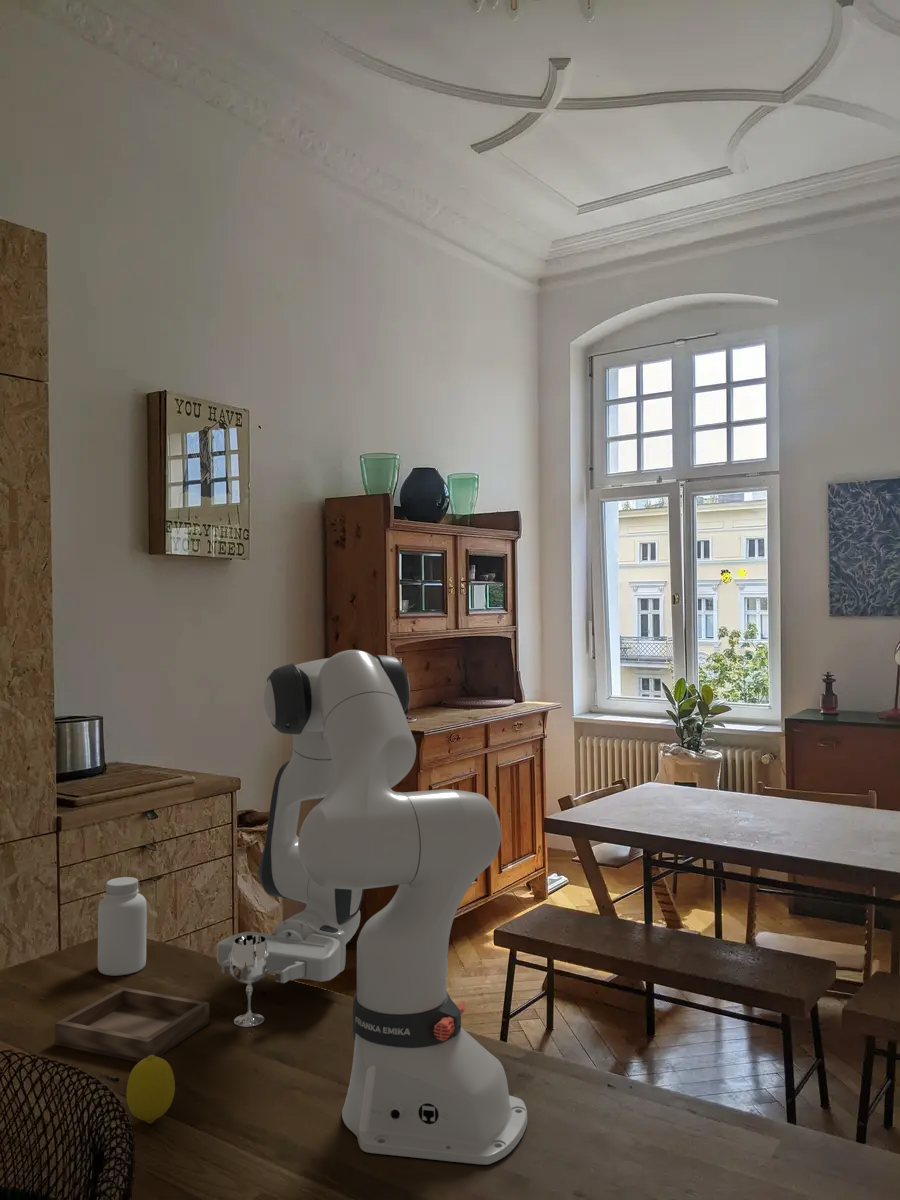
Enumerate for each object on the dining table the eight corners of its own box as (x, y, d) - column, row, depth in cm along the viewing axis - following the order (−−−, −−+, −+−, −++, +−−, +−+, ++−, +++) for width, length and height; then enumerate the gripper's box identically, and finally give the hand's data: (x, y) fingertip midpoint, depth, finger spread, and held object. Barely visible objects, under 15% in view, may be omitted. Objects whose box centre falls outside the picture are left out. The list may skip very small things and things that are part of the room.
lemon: (157, 1106, 117) (157, 1040, 117) (183, 1121, 113) (184, 1054, 113) (116, 1124, 113) (117, 1056, 113) (143, 1141, 109) (143, 1071, 109)
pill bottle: (87, 975, 159) (89, 886, 160) (112, 958, 167) (113, 873, 167) (131, 978, 158) (132, 888, 158) (154, 961, 166) (155, 875, 166)
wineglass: (276, 1018, 143) (277, 938, 143) (249, 1032, 138) (250, 949, 138) (248, 1009, 146) (249, 931, 146) (221, 1022, 141) (222, 941, 141)
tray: (209, 1023, 141) (209, 1002, 141) (147, 1064, 128) (147, 1041, 128) (122, 1006, 146) (122, 987, 147) (54, 1044, 133) (55, 1023, 133)
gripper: (244, 917, 159) (194, 943, 146) (353, 932, 152) (310, 960, 139) (244, 955, 159) (194, 984, 146) (353, 971, 152) (310, 1004, 139)
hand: (252, 973), depth 142 cm, fingers open, 8 cm apart
